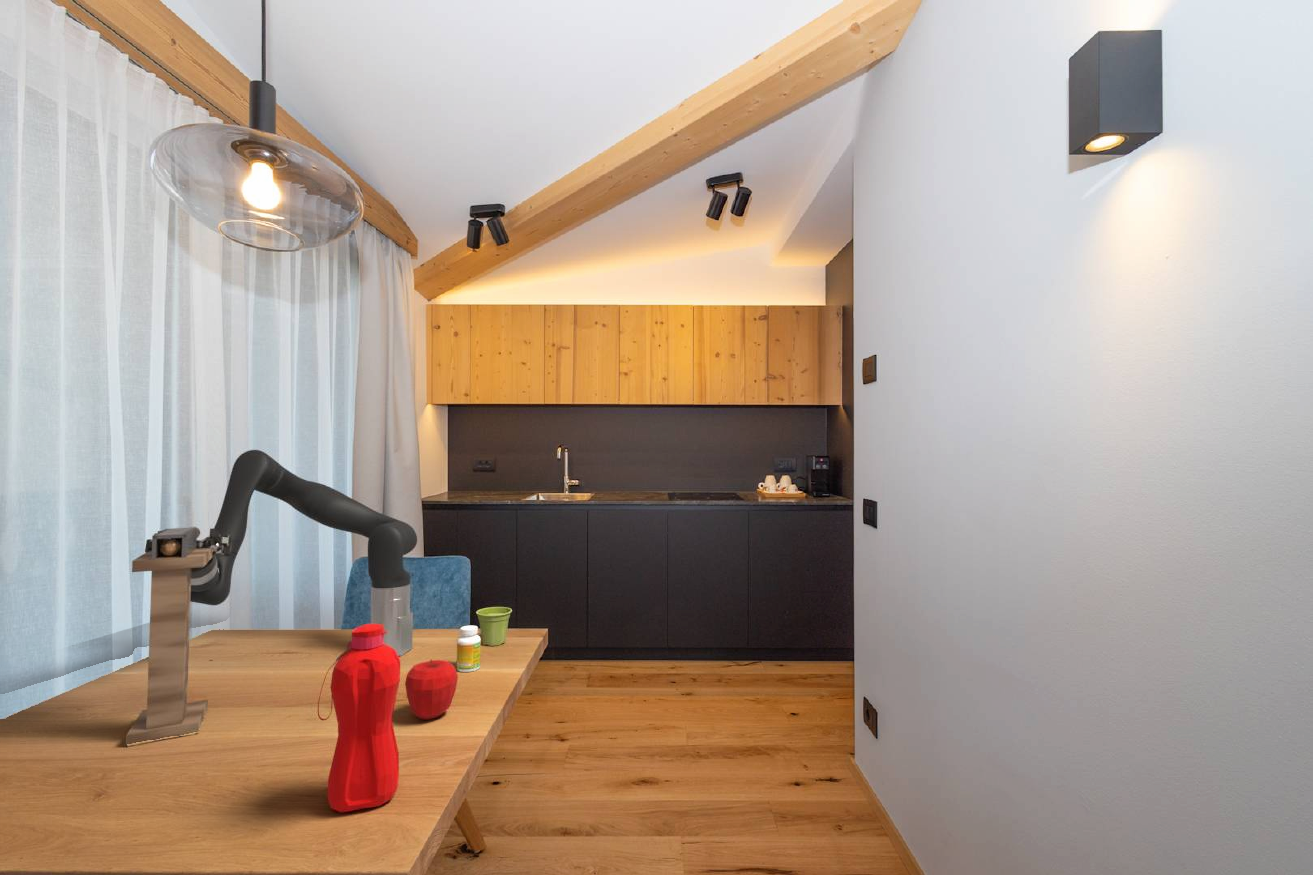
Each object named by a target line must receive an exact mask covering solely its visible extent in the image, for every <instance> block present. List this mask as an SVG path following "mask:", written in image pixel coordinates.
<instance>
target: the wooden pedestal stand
mask: <svg viewBox="0 0 1313 875" xmlns="http://www.w3.org/2000/svg"><path fill="white" fill-rule="evenodd" d="M211 559H212V548H200V549H195V550H194V551H193V552H192V553H190V554H189V555H188V556H187V557H184V558H182V550H180V551H179V552H177V553H176V554H174V555H165V554H163V555H162V556H160V557H159V558H157V559H152V551H148V552H145V553H143V554H142V555H140V556H138V557H136V558H135V559H133V560H132V561H131V563H132V564H131V573H142V572H151V580H150V583H151V584H150V606H149V607H150V609H149V610H150V611H149V635H148V636H149V638H148V639H149V640H148V666H147V667H148V668H147V691H146V692H147V693H146V694H147V696H146V697H147V699H146V709H142V710H141V712H140V714H139V715H138V716H137V717H136V719H135V721H134V723H133V724H132V726H131V727H130V729H129V730H128V731H127V733H126V734H125V746H126V745H127V744H132V743H136V742H142V741H147V740H156V739H160V738H164V737H170V736H180V735H184V734H189V733H193V732H198V731H199V732H200V730H199V728H200V726H201V727H202V725H201V723H202V721H203V722H204V720H205V718H204V716H205V717H206V715H205V714H207V712H206V710H207V708H208V702H209V699H204V700H197V701H191V702H188V686H189V685H188V684H189V683H188V682H189V661H190V660H189V656H190V655H189V654H190V621H191V620H190V619H191V602H190V598H191V568H200V567H204V566H205V565H206V564H207V563H208V562H209V561H210V560H211ZM207 711H208V710H207ZM203 719H204V720H203ZM202 724H203V723H202ZM200 729H201V728H200Z"/></svg>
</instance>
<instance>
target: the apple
mask: <svg viewBox="0 0 1313 875" xmlns="http://www.w3.org/2000/svg"><path fill="white" fill-rule="evenodd" d="M458 679H459V676H458V673H457V668H456V667H455V666H454V665H453V664H452V663H451V662H449V661H448V660H443V659H441V660H440V659H435V660H432V659H430V660H429V661H424V662H419V663H417V664H414V665H413V666H412V667H411V668H410V669H409V671H408V672H407V673H406V678H405V683H404V686H405V691H406V697H407V700H408V704H409V707H410V712H412V714H413V715H414V716H416V717H418V718H419V719H421V720H432V719H434V718H435V719H436V718H438V717H439V716H440V717H441V715H442V714H444V713H445V712H446V711H447V710H449V708H450V707H451V706H452V702H453V700H454V697H455V693H456V690H457V685H458Z"/></svg>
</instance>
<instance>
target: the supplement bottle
mask: <svg viewBox="0 0 1313 875" xmlns="http://www.w3.org/2000/svg"><path fill="white" fill-rule="evenodd" d="M459 631H460V636H459V637H458V638H457V640H456V671H458V672H460V673H471V672H475V671H478V670H479V669H480V668H481V657H482V656H481V651H482V650H481V644H482V637H481V636H480V635H478V633H479V627H478V626H477V625H463V626H461V627H460V628H459Z"/></svg>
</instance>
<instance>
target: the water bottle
mask: <svg viewBox="0 0 1313 875" xmlns="http://www.w3.org/2000/svg"><path fill="white" fill-rule="evenodd" d="M385 633H387V631H384V628H383V625H380V624H371V623H365V624H362V625H359V626H358V627H356V628H353V629H352V631H351V641H347V644H346V645H347V646H346V650H344V652H342V653H341V654H340V655H338V657H336V660H335V662H333V664H332V665H331V666H330V667H329V668H328V670H327V672H326V674H325V677H324V680H323V683H322V684H321V688H320V692H319V696H318V703H317V715H318V718H319V719H320V720H321V721H327V720H328V719H329V718H330V717H331V714H332V711H333V707H334V712H335V717H336V720H337V735H338V736H337V739H336V743H335V744H336V745H335V749H334V752H333V753H334V754H333V757H332V761H331V764H330V765H331V766H330V769H329V774H328V778H327V780H328V781H327V792H326V793H327V794H326V795H327V796H326V797H327V799H328V804H329V807H330V809H332V810H334V811H337V812H338V813H341V814H343V813H348V812H352V811H358V810H363V809H370V808H374V807H375V808H376V807H381V806H382V805H384V804H385V803H387V802H389V801H390V800H392V798H393V797H394V796H395V794H396V793H397V790H398V788H399V778H400V777H399V776H400V756H399V755H400V754H399V748H398V744H397V740H396V735H395V729H394V725H393V715H394V710H395V704H396V700H397V699H396V698H397V694H398V689H399V685H400V681H401V660H400V659H401V658H400V656H398V654H397V653H396V651H395V649H394V648H392V647H390V646H388V645H386V644H383V634H385ZM333 666H334V667H333ZM331 668H333V670H332V673H331V680H330V692H331V699H332V703H331V704H330V705H331V708H330V713H329V715H328V717H326V718H322V717H321V716H320V710H319V709H320V708H319V706H320V699H321V695H322V690H323V687H324V683H325V681H326V677H327V675H328V673H329V671H330V670H331Z"/></svg>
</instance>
